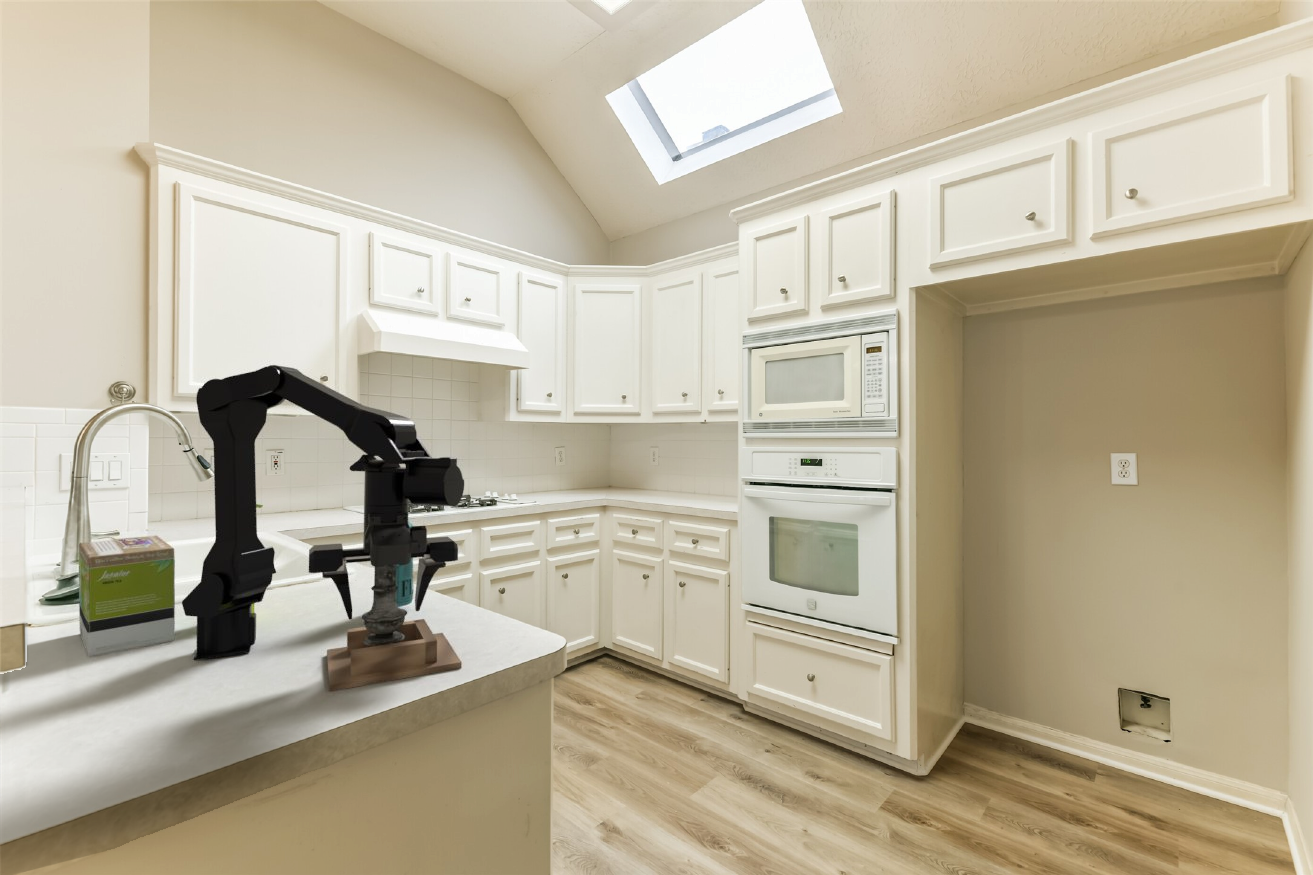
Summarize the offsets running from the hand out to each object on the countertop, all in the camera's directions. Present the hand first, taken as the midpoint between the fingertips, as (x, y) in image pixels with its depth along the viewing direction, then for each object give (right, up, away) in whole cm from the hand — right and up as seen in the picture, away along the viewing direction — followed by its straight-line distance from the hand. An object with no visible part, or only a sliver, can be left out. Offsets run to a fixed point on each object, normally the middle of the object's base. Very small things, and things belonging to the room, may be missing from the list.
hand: (384, 614), depth 83 cm
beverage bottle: (-10, -7, +25) cm, 27 cm away
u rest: (+1, -7, +1) cm, 7 cm away
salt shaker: (0, -4, 0) cm, 4 cm away
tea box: (-44, -7, +9) cm, 46 cm away
